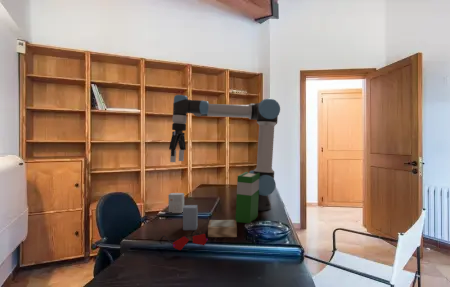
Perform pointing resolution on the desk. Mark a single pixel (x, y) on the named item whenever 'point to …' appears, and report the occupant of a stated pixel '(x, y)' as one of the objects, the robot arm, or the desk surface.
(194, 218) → the block
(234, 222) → the plinth
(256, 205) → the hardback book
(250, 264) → the desk surface
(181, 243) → the glasses
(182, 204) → the small box
